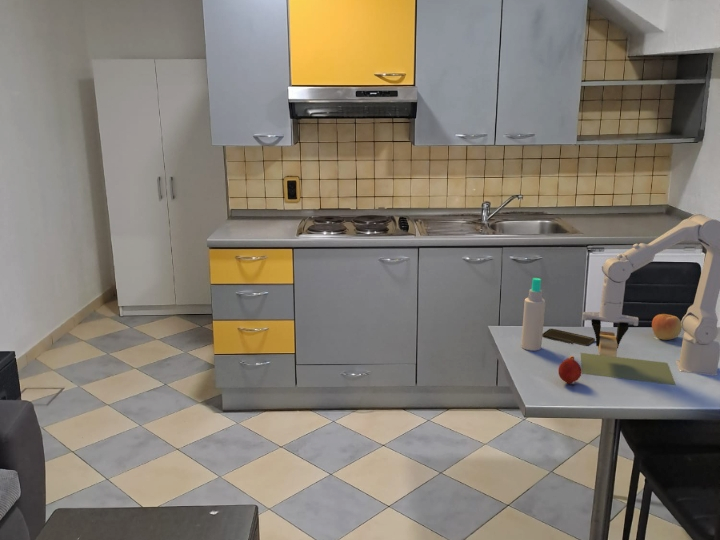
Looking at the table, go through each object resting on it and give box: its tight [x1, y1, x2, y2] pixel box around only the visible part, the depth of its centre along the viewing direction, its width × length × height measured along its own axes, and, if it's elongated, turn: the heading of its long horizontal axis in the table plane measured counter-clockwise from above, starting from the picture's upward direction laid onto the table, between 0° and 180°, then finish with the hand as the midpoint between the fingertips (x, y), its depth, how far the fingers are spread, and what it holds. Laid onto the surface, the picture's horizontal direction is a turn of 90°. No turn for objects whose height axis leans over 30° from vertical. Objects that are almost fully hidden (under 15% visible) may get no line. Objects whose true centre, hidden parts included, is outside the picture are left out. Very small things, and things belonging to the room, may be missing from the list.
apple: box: [651, 313, 682, 341], centre depth 207 cm, size 9×9×8 cm
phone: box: [542, 328, 596, 347], centre depth 207 cm, size 8×1×15 cm
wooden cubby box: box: [597, 330, 619, 357], centre depth 184 cm, size 10×4×4 cm, turn 164°
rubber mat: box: [580, 352, 677, 386], centre depth 183 cm, size 24×16×1 cm, turn 73°
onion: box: [557, 355, 582, 385], centre depth 173 cm, size 6×6×8 cm
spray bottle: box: [520, 277, 546, 352], centre depth 196 cm, size 6×6×22 cm
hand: (606, 346), depth 184 cm, fingers closed on wooden cubby box, 4 cm apart
